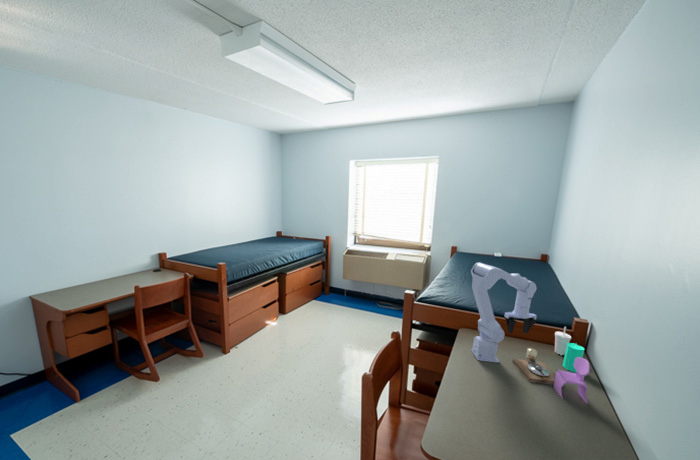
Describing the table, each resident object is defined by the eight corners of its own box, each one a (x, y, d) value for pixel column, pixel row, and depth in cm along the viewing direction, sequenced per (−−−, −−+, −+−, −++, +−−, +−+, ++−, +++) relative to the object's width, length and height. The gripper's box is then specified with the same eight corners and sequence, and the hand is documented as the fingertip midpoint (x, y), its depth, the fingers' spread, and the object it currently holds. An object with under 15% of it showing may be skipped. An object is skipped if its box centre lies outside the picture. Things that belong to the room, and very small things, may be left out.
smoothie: (554, 355, 129) (560, 327, 127) (549, 348, 135) (554, 321, 133) (570, 358, 127) (576, 330, 126) (564, 351, 134) (569, 324, 132)
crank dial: (553, 378, 109) (556, 366, 108) (533, 374, 110) (535, 362, 109) (537, 360, 120) (539, 349, 120) (519, 357, 121) (521, 346, 121)
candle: (583, 373, 117) (589, 347, 115) (569, 372, 117) (575, 346, 115) (572, 364, 123) (577, 339, 121) (559, 363, 123) (564, 338, 121)
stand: (528, 381, 108) (529, 377, 108) (512, 361, 121) (512, 358, 121) (562, 385, 107) (563, 381, 107) (542, 365, 120) (543, 361, 120)
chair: (551, 384, 107) (558, 349, 105) (576, 390, 105) (584, 354, 103) (561, 399, 99) (569, 362, 97) (589, 406, 97) (598, 368, 95)
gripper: (530, 302, 129) (525, 328, 131) (502, 300, 128) (497, 327, 130) (542, 308, 123) (536, 336, 124) (512, 307, 121) (507, 335, 123)
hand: (517, 332), depth 127 cm, fingers open, 7 cm apart
